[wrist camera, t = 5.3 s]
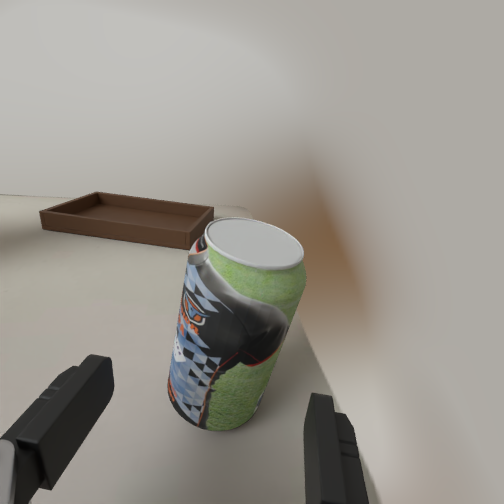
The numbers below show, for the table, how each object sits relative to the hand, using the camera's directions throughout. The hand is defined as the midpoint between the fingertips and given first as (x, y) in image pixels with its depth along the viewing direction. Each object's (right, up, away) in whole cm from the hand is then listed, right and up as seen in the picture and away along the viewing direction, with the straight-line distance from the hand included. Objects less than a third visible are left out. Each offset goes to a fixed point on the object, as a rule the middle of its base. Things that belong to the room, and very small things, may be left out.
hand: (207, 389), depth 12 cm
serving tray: (-16, +10, +36) cm, 40 cm away
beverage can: (0, -4, +8) cm, 9 cm away
